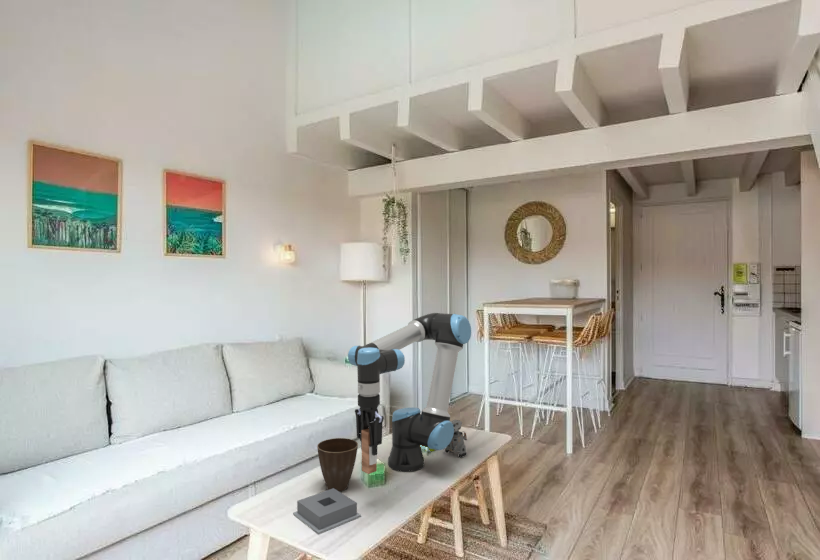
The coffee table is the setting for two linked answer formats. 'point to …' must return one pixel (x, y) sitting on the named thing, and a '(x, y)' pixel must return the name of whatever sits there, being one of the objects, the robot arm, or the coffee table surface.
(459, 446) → the figurine
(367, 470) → the peg
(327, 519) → the socket block
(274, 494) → the coffee table surface
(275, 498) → the coffee table surface
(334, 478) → the plant pot
